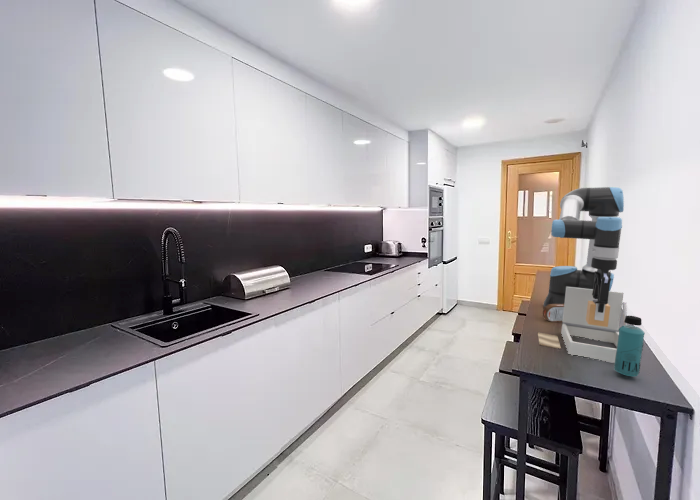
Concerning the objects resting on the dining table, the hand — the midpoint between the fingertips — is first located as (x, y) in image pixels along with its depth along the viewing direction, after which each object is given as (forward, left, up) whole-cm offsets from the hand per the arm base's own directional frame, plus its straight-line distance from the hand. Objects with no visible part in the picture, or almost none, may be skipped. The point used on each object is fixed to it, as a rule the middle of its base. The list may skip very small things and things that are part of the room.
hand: (597, 317), depth 126 cm
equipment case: (0, 0, -12) cm, 12 cm away
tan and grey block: (0, 0, -2) cm, 2 cm away
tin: (-30, -9, -13) cm, 34 cm away
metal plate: (0, -15, -12) cm, 20 cm away
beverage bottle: (+21, +5, -13) cm, 25 cm away
